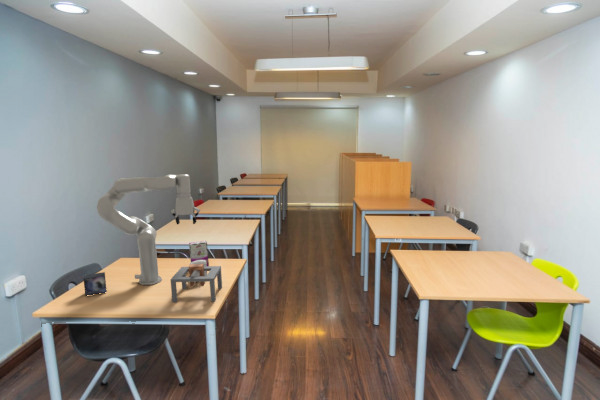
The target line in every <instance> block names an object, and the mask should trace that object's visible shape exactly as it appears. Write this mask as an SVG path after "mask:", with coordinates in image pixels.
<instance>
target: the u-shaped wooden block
mask: <svg viewBox="0 0 600 400" xmlns="http://www.w3.org/2000/svg"><path fill="white" fill-rule="evenodd" d="M188 267H189V271H188V273H189V274H188V277H191V274H192V273H193V272H194V270H199V274H200V276H205V275H204V264H190V263H189V265H188ZM199 283H200V284H199V285H200V287H204V286H205V284H206V282H199ZM195 284H196V282H189V287H194V286H195Z"/></svg>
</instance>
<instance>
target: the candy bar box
mask: <svg viewBox="0 0 600 400" xmlns="http://www.w3.org/2000/svg"><path fill="white" fill-rule="evenodd" d="M188 246H189V257H190V259H189V260H190V263H191V262H193V261H196V260H205V261H206V263H207V266H210V264H209V262H210V261H209V250H208V242H207V240H201V241H195V242H193V241H192V242H189V243H188Z"/></svg>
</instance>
